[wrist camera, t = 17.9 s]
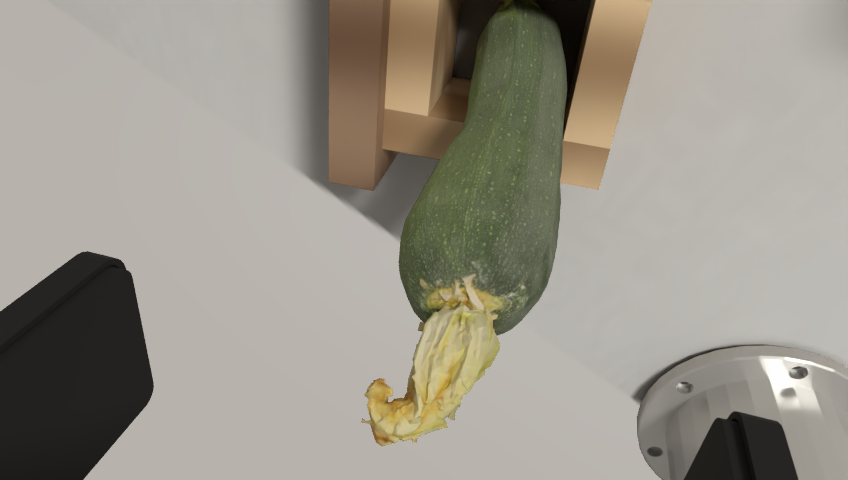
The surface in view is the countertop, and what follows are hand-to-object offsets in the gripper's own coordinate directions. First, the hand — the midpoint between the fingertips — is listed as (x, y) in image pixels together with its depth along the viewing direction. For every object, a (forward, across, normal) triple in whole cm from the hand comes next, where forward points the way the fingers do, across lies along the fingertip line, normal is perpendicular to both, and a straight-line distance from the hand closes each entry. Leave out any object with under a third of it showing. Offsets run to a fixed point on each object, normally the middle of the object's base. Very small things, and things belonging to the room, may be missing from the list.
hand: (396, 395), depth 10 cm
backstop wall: (+21, +6, -1) cm, 22 cm away
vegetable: (+21, +1, -1) cm, 21 cm away
